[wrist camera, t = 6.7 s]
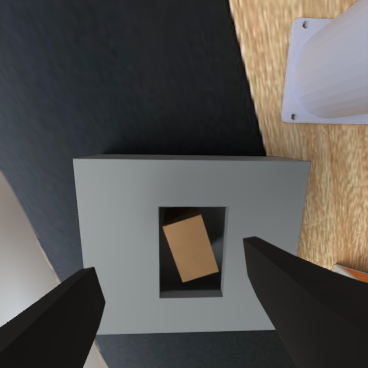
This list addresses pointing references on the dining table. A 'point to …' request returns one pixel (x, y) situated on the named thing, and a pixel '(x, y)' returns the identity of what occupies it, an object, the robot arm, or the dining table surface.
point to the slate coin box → (159, 247)
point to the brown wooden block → (189, 242)
